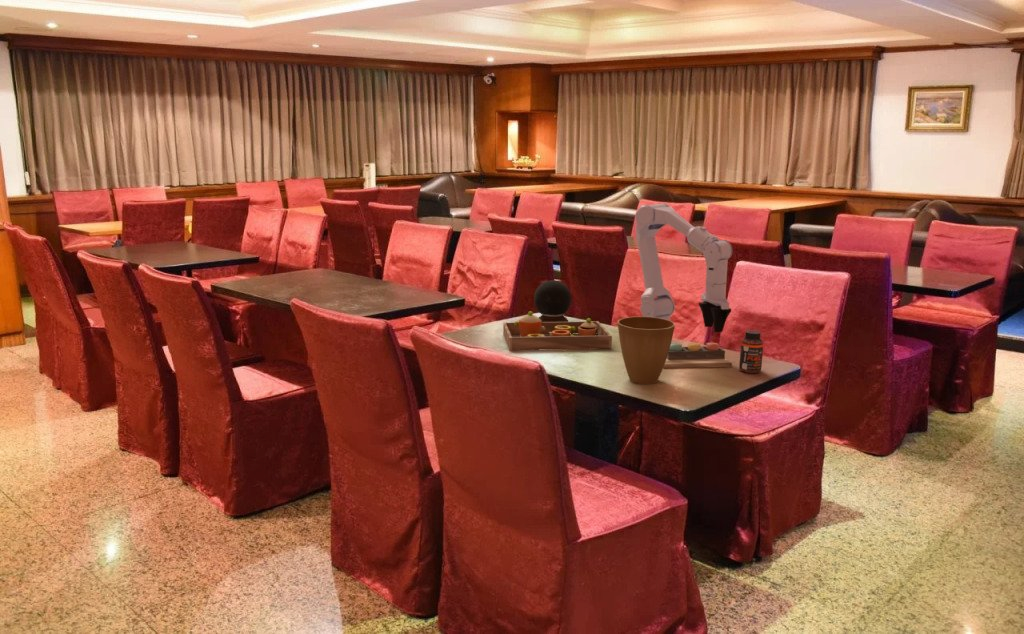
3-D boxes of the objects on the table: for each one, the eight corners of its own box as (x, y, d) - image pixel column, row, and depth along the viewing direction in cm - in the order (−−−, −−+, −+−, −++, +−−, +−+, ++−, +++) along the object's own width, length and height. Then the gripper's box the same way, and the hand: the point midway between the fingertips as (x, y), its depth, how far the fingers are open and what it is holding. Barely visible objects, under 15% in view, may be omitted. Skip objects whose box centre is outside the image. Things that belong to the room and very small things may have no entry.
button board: (650, 355, 250) (650, 343, 250) (715, 354, 252) (716, 342, 251) (662, 368, 237) (663, 355, 236) (731, 366, 239) (732, 354, 238)
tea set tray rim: (503, 334, 276) (503, 322, 276) (597, 332, 279) (598, 321, 279) (509, 350, 255) (509, 337, 255) (611, 348, 258) (611, 336, 258)
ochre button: (685, 351, 246) (686, 342, 245) (697, 351, 246) (698, 342, 245) (689, 354, 242) (689, 345, 242) (701, 354, 242) (702, 345, 242)
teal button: (667, 351, 245) (667, 343, 245) (679, 351, 245) (679, 343, 245) (670, 354, 242) (671, 346, 241) (683, 354, 242) (683, 346, 241)
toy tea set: (528, 350, 257) (528, 319, 255) (508, 339, 271) (508, 310, 269) (603, 343, 267) (604, 313, 265) (580, 333, 281) (581, 304, 279)
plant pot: (604, 380, 224) (606, 321, 221) (638, 370, 235) (640, 314, 231) (649, 392, 214) (652, 331, 211) (683, 381, 224) (686, 322, 221)
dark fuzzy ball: (533, 318, 302) (534, 277, 299) (570, 319, 301) (571, 277, 298) (533, 326, 289) (533, 283, 286) (571, 327, 288) (572, 283, 285)
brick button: (704, 350, 246) (704, 342, 246) (716, 350, 246) (716, 342, 246) (708, 353, 243) (708, 345, 242) (720, 353, 243) (720, 345, 242)
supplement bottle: (746, 374, 230) (748, 334, 228) (735, 369, 236) (737, 329, 234) (765, 373, 232) (768, 333, 230) (753, 367, 238) (756, 328, 235)
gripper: (692, 279, 247) (690, 324, 249) (713, 287, 233) (710, 335, 235) (715, 278, 248) (712, 323, 251) (737, 286, 234) (734, 334, 237)
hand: (713, 329), depth 243 cm, fingers open, 6 cm apart
